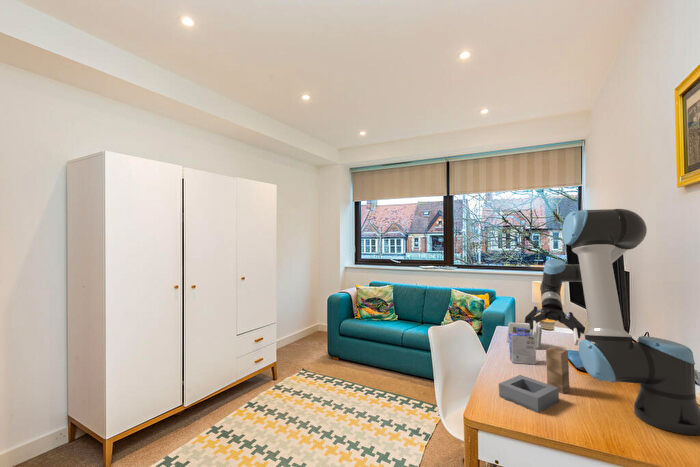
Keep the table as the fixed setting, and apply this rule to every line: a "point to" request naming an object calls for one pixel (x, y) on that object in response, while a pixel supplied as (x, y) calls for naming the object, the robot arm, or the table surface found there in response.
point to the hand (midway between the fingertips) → (555, 338)
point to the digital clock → (513, 326)
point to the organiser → (529, 393)
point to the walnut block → (558, 368)
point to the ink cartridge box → (522, 347)
